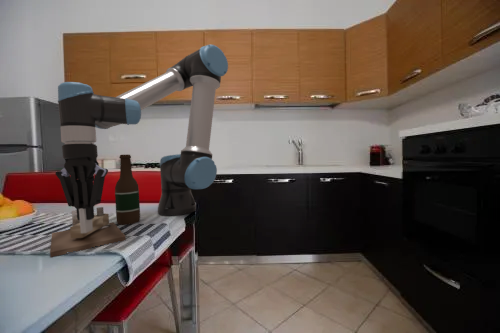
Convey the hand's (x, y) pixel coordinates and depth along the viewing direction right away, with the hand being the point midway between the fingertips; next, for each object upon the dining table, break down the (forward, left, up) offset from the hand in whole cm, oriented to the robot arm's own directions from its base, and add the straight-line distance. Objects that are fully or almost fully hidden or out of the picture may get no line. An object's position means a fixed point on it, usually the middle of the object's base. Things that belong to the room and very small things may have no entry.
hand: (86, 231), depth 64 cm
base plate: (0, -5, -3) cm, 6 cm away
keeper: (-2, -11, -2) cm, 11 cm away
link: (-2, -6, -1) cm, 7 cm away
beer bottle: (-13, -15, -4) cm, 21 cm away
